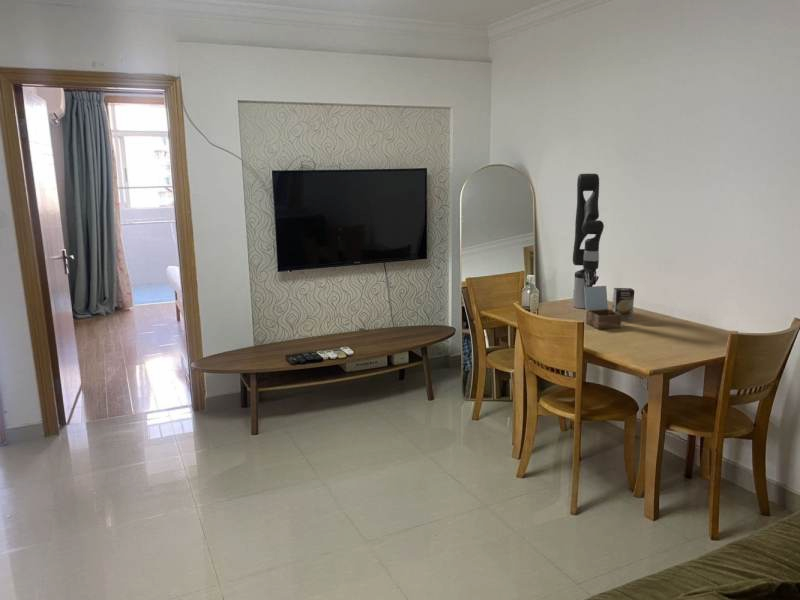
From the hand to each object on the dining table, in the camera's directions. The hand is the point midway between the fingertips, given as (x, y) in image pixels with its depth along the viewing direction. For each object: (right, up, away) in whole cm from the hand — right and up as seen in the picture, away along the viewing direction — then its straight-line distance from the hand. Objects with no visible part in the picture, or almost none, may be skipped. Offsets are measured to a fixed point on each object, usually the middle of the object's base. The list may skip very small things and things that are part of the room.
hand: (589, 292), depth 312 cm
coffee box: (+18, -14, +2) cm, 23 cm away
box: (+3, -17, -11) cm, 21 cm away
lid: (+2, -3, -6) cm, 7 cm away
